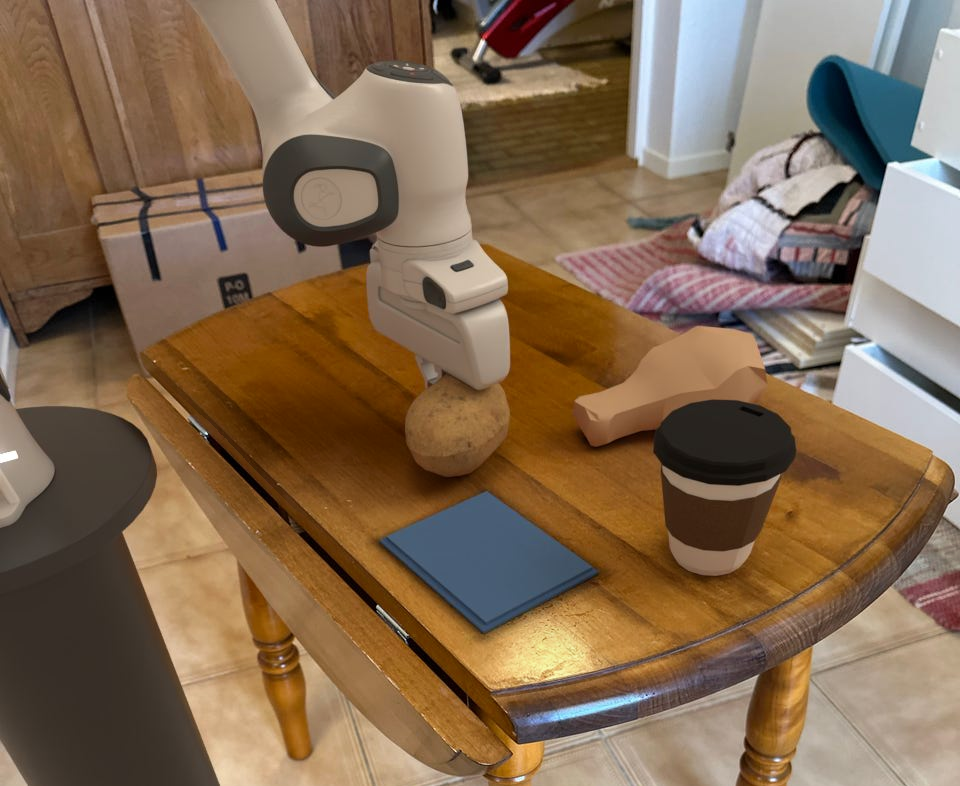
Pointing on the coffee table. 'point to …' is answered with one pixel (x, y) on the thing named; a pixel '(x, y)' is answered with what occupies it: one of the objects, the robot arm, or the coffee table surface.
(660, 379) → the squash
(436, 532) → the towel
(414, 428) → the potato
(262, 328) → the coffee table surface
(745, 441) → the coffee cup
